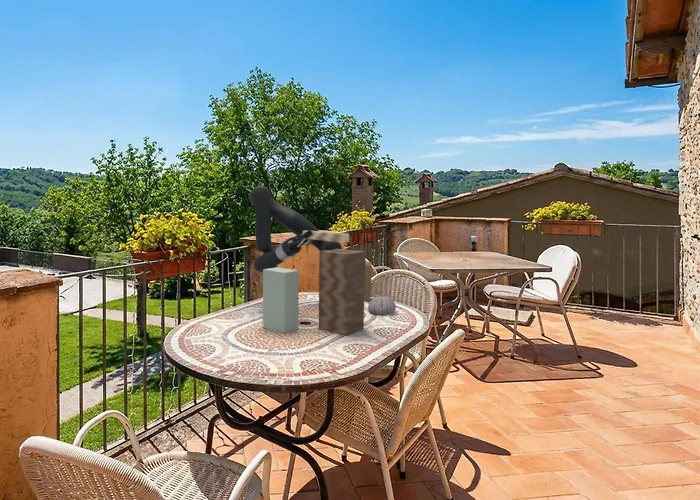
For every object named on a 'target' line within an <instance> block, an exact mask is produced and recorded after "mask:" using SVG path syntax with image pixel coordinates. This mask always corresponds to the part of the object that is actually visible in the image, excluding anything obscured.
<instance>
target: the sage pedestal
mask: <svg viewBox="0 0 700 500" xmlns="http://www.w3.org/2000/svg"><path fill="white" fill-rule="evenodd" d="M299 278H300V271H299V270H298V269H293V268H283V267H278V266H276V268H269V269H263V272H262V328H263V329H266V330H270V331H273V332H274V331H275V332H277V333H281V334H287V333H289V332H293V331H296V330H299V286H300V285H299V283H300V281H299Z"/></svg>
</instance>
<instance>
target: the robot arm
mask: <svg viewBox="0 0 700 500" xmlns="http://www.w3.org/2000/svg"><path fill="white" fill-rule="evenodd" d="M271 193H272V192H271V190H270V189H269V187H267V186H265V185H256V186H255V187H254V188H253V189H251V191H250V192H249V194H248V195H249V196H248V200H249V202H250V203H251V205H252V206H254V211H255V247H256V250H257V251H258V252H260V253H262V254H261V255H259V256H258V257H256V259H255V260H254V262H253V267H254V269H255V271H256V272H258V273H263V269H269V268H276V267H277V265H280V264H282V263H283V262H285V261H286V260H289V259H291V258H292V257H294V256H295V255H297V254H299V253H300V252H301V249H302V247H303V246H305V245H306V244H309V245H310V244H311V245H313V246H314V247H315V248H316V249H317V250H318V251H319V252H320V251H325V250H333V249H343V247H342V244H341V242H334V241H324V240H314V239H306V238H308V237H309V236H311V235H312V231H319V232H321V231H320V230H319V229H318V228H317V227H316V226H315V225H314V224H313V223H312V222H311V221H310V220H308V219H307V218H306V217H305V216H303V215H302V214H301V213H299V212H298V211H296V210H294V209H292V208H289V207H288V206H285V205H283V204H281V203H280V202H278V201H277V200H275V199H274V198H273V197H272V194H271ZM270 217H272V218H273V219H275V220H276V222H278V223H279V224H280V225H282V226H283V227H285V228H286V229H287V230H289V231H290V232H291V233H293V234H294V235H295V236H293V237H292V236H291V237H289V238H287V239H286V240H284V241H283V242H281V243H280V244H279V245H277V246H276V247H275V248H273V245H272V233H271V231H272V230H271V221H270V220H271V219H270ZM303 231H307V232H306V233H303Z"/></svg>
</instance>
